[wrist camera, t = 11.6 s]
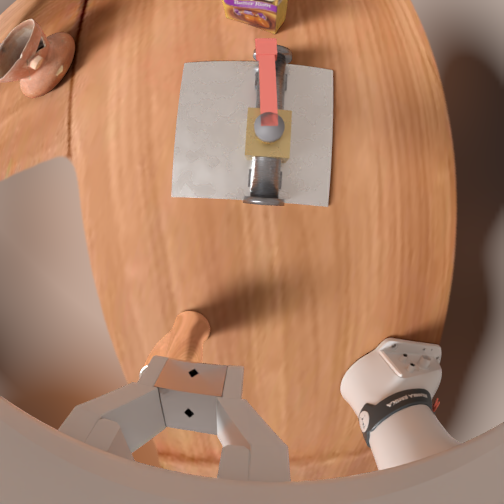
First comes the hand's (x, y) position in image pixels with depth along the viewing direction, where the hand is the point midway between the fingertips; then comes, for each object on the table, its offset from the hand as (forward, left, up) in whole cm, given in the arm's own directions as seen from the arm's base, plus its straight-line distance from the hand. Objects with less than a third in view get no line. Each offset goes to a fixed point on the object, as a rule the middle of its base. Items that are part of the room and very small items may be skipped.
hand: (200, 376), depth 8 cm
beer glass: (+8, +16, -31) cm, 36 cm away
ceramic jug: (+41, -32, -31) cm, 61 cm away
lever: (-2, -18, -23) cm, 29 cm away
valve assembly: (0, -15, -31) cm, 34 cm away
